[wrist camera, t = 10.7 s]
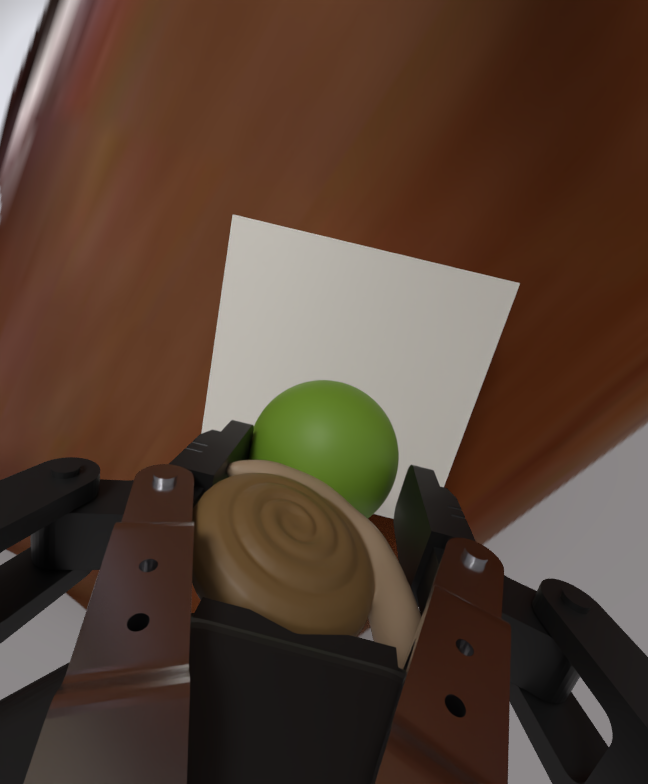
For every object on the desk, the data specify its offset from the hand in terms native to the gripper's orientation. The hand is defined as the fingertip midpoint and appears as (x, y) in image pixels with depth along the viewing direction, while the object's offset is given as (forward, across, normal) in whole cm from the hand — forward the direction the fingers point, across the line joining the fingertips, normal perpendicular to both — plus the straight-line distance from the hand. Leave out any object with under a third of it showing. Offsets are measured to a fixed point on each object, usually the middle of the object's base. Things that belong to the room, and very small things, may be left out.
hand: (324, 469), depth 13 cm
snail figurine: (+4, 0, 0) cm, 4 cm away
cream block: (+16, 0, 0) cm, 16 cm away
